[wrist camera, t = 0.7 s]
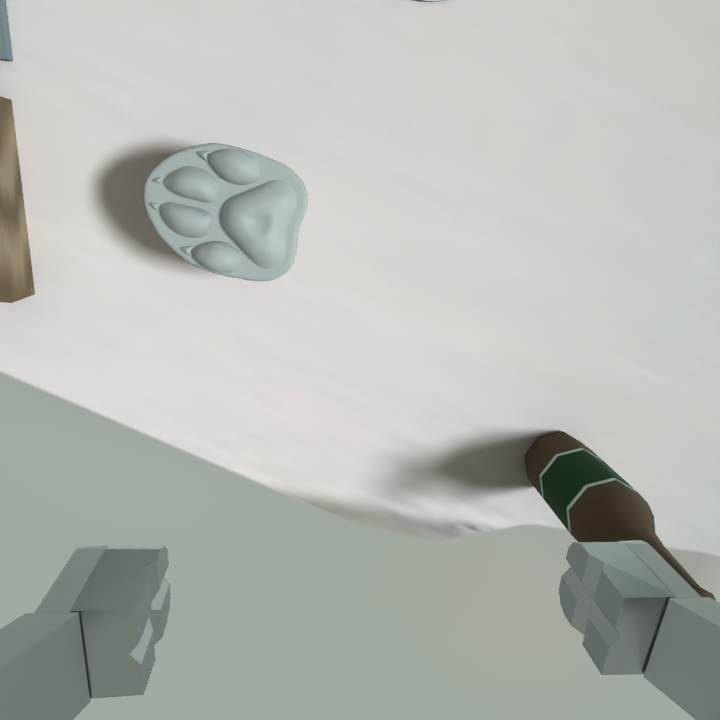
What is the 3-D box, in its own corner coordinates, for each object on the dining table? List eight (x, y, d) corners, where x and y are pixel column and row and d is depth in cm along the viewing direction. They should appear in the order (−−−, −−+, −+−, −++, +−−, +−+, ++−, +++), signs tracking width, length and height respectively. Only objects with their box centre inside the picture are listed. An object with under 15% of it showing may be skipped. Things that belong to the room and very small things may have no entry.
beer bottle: (594, 462, 61) (762, 621, 38) (540, 496, 62) (674, 671, 39) (565, 417, 59) (728, 558, 36) (510, 453, 59) (635, 614, 37)
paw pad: (289, 278, 50) (286, 295, 42) (157, 244, 48) (126, 255, 40) (314, 173, 47) (316, 169, 39) (174, 131, 45) (145, 118, 37)
